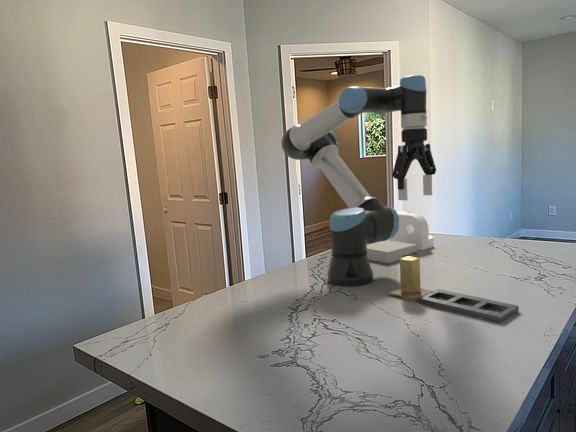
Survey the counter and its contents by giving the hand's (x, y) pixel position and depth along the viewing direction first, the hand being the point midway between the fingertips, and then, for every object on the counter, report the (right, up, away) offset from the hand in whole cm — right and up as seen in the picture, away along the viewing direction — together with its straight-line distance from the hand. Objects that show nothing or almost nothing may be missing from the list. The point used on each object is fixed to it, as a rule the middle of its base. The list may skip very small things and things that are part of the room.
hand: (415, 197), depth 137 cm
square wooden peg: (-4, -28, -9) cm, 30 cm away
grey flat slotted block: (+7, -30, -22) cm, 38 cm away
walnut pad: (-4, -29, -9) cm, 30 cm away
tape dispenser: (+15, -19, +55) cm, 59 cm away
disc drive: (-2, -22, +41) cm, 46 cm away
